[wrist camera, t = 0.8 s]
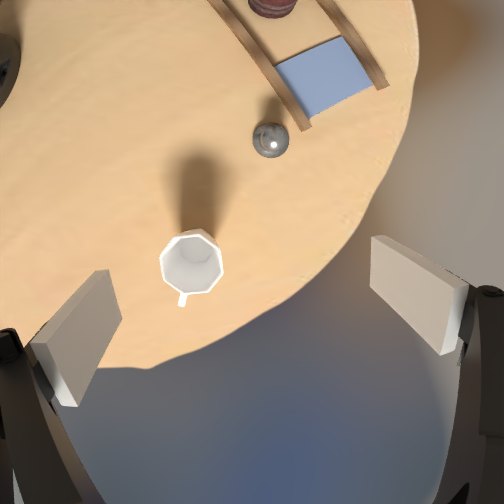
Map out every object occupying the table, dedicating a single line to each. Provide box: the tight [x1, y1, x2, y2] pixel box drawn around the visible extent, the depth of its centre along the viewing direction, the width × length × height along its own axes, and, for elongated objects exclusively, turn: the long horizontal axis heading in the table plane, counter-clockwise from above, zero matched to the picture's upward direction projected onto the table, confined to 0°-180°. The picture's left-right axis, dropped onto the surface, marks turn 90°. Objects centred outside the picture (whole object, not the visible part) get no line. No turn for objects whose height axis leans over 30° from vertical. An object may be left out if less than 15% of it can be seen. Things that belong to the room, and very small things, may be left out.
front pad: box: [274, 36, 373, 119], centre depth 34 cm, size 8×11×1 cm
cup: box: [159, 228, 224, 307], centre depth 36 cm, size 7×10×8 cm
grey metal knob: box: [253, 123, 289, 158], centre depth 34 cm, size 4×4×4 cm
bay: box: [207, 0, 390, 132], centre depth 31 cm, size 24×14×2 cm, turn 32°
